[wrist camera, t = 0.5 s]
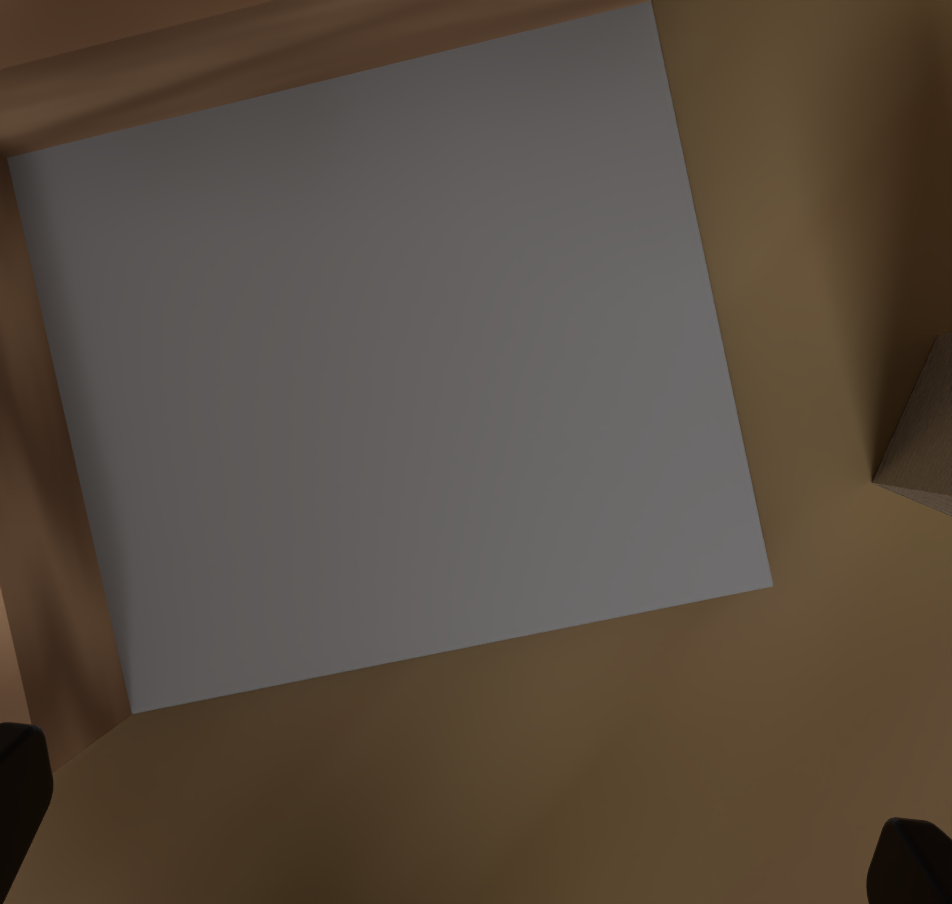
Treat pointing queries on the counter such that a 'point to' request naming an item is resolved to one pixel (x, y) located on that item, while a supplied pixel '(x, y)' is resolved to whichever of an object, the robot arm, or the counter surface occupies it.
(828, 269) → the counter surface
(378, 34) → the walls
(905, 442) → the bracket
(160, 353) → the mat
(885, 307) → the counter surface
